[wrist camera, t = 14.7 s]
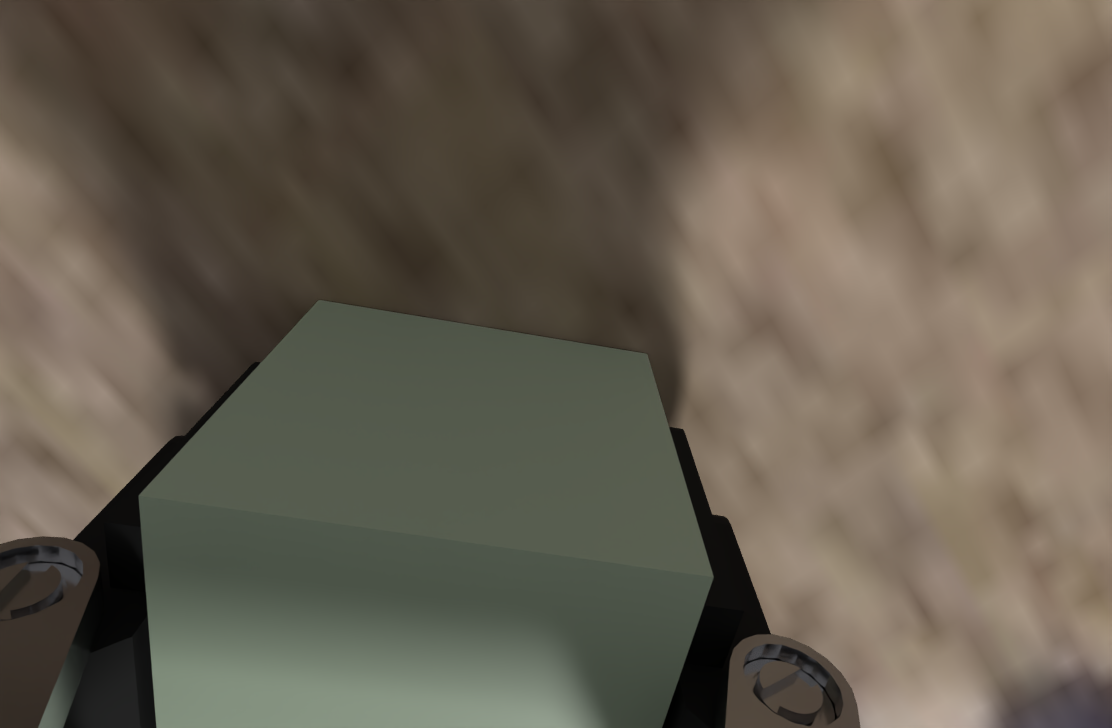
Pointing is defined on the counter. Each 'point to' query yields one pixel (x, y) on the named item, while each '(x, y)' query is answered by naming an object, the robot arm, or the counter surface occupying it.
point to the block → (424, 537)
